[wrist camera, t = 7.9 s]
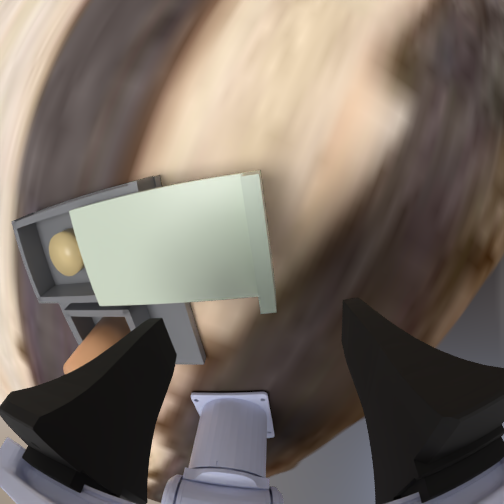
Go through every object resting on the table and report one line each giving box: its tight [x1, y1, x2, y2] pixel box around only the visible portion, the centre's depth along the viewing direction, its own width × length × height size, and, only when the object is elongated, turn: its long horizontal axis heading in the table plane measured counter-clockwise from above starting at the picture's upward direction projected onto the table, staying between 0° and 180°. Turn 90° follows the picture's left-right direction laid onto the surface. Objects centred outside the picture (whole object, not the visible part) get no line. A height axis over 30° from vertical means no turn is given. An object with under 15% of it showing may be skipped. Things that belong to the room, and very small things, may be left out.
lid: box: [69, 170, 277, 314], centre depth 14 cm, size 7×12×3 cm, turn 98°
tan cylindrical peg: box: [63, 317, 131, 374], centre depth 18 cm, size 4×4×7 cm
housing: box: [12, 175, 206, 364], centre depth 19 cm, size 16×14×4 cm
